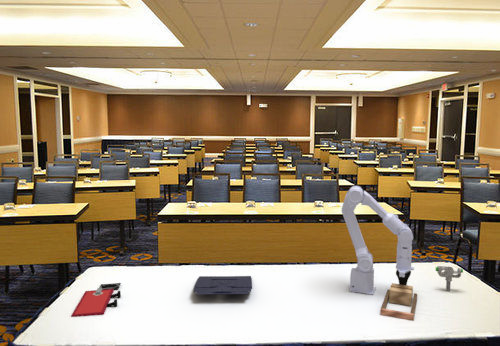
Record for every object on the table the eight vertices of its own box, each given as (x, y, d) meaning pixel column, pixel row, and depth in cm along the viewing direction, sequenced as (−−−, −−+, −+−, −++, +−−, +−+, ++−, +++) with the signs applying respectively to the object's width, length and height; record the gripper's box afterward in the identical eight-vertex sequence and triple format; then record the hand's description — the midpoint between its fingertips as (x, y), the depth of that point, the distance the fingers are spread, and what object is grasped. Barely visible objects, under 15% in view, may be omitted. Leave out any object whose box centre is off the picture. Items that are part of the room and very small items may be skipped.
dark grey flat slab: (190, 301, 164) (190, 292, 164) (198, 282, 194) (198, 274, 194) (252, 300, 164) (252, 291, 165) (251, 281, 194) (251, 273, 195)
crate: (389, 302, 165) (389, 288, 164) (391, 294, 172) (391, 281, 171) (411, 305, 161) (411, 292, 161) (412, 298, 169) (413, 284, 168)
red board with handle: (125, 284, 185) (89, 287, 183) (125, 278, 185) (89, 281, 183) (114, 315, 156) (71, 319, 154) (113, 308, 156) (71, 311, 153)
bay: (380, 314, 155) (380, 309, 154) (387, 293, 174) (387, 289, 173) (413, 320, 150) (413, 315, 150) (417, 298, 169) (417, 293, 169)
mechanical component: (462, 292, 174) (463, 269, 173) (435, 291, 176) (436, 267, 175) (460, 290, 177) (461, 267, 176) (434, 288, 179) (435, 265, 178)
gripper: (413, 262, 163) (412, 296, 165) (415, 252, 177) (414, 283, 178) (394, 260, 166) (393, 293, 168) (397, 250, 179) (396, 281, 181)
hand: (402, 288), depth 173 cm, fingers closed
